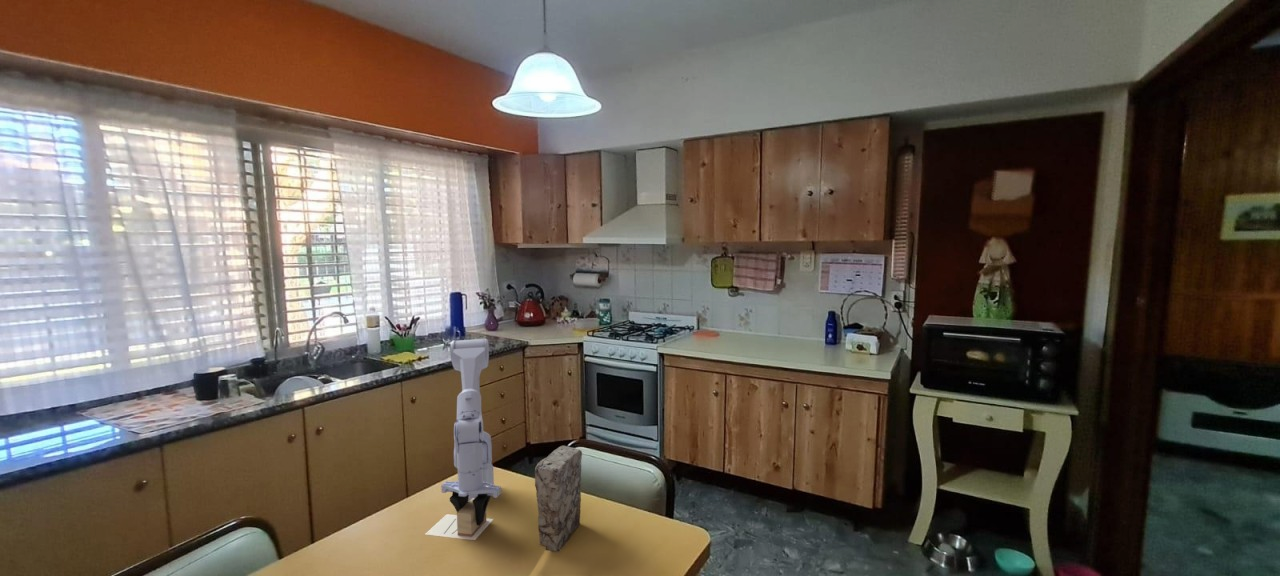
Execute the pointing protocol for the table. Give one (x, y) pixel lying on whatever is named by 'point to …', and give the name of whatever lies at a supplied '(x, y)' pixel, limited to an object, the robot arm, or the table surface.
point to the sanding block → (468, 520)
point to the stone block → (558, 496)
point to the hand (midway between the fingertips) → (472, 522)
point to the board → (453, 528)
